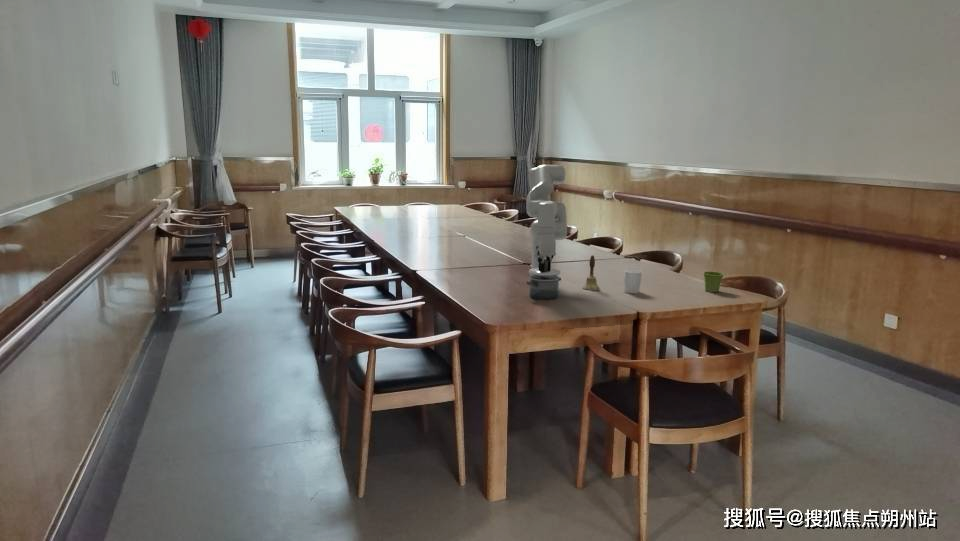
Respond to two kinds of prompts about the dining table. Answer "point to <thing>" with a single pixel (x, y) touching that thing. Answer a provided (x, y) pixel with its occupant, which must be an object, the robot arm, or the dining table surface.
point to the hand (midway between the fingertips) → (544, 270)
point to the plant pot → (712, 281)
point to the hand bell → (591, 277)
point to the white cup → (632, 281)
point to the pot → (543, 287)
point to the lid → (546, 273)
